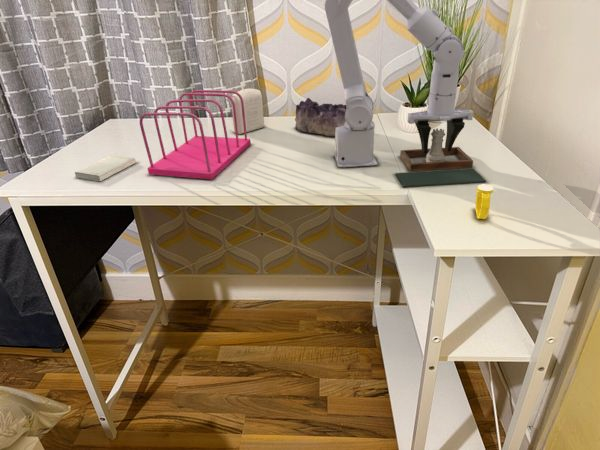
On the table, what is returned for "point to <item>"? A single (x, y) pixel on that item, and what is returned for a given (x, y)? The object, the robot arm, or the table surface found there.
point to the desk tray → (462, 163)
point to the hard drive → (105, 168)
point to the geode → (319, 117)
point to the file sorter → (197, 142)
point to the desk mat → (439, 177)
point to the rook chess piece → (436, 147)
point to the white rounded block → (248, 110)
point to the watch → (483, 200)
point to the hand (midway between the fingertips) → (436, 150)
